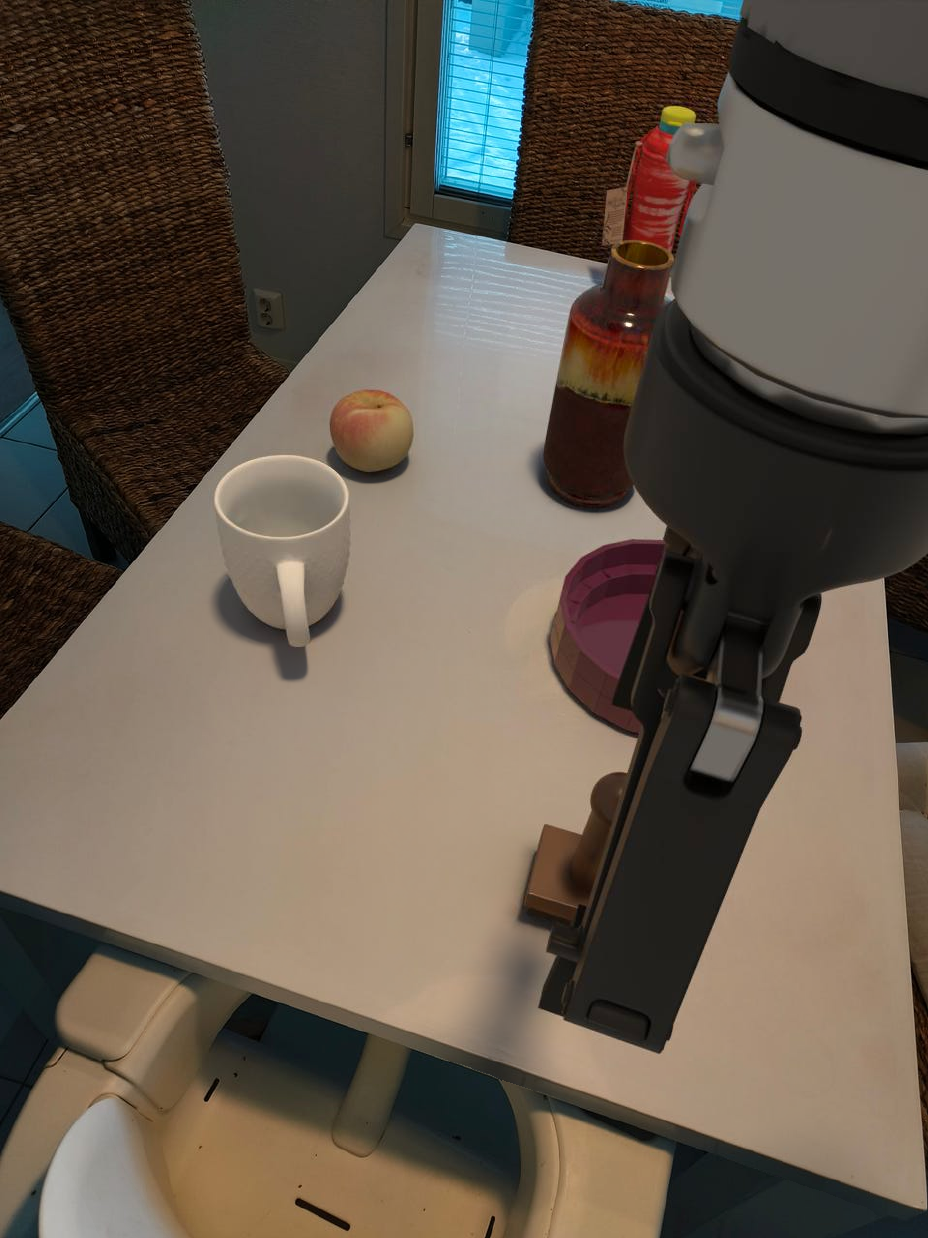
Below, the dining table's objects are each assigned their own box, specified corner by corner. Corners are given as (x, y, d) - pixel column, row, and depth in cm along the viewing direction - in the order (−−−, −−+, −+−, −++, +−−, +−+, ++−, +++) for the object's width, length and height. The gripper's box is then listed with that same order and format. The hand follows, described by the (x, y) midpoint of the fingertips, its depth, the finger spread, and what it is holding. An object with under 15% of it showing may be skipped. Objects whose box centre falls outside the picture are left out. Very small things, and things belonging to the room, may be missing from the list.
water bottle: (582, 292, 128) (619, 106, 109) (592, 271, 133) (628, 90, 115) (661, 310, 126) (712, 124, 108) (668, 287, 131) (717, 106, 113)
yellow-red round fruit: (316, 462, 94) (313, 400, 88) (368, 428, 99) (369, 367, 93) (377, 496, 91) (378, 434, 85) (427, 459, 96) (432, 398, 90)
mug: (366, 674, 74) (366, 566, 65) (236, 690, 72) (217, 580, 62) (342, 558, 84) (340, 449, 74) (227, 569, 81) (210, 457, 72)
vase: (522, 461, 97) (562, 230, 78) (607, 447, 101) (665, 223, 82) (563, 522, 91) (617, 286, 72) (653, 505, 94) (727, 276, 75)
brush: (634, 879, 63) (694, 766, 52) (623, 951, 60) (685, 845, 48) (536, 849, 64) (573, 732, 53) (519, 918, 60) (555, 807, 49)
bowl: (798, 711, 76) (825, 668, 71) (611, 769, 70) (628, 726, 65) (685, 568, 88) (702, 523, 83) (516, 607, 82) (525, 561, 77)
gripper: (717, 126, 27) (586, 599, 42) (509, 756, 10) (418, 1156, 25) (965, 175, 25) (737, 641, 41) (1204, 973, 9) (665, 1252, 24)
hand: (614, 838), depth 33 cm, fingers open, 13 cm apart
